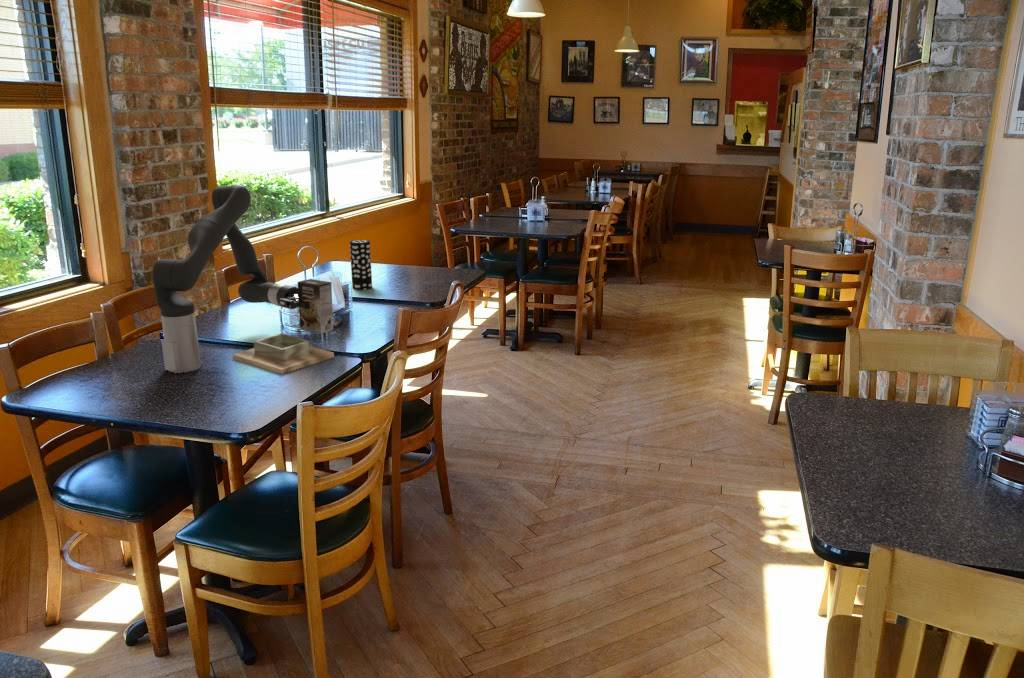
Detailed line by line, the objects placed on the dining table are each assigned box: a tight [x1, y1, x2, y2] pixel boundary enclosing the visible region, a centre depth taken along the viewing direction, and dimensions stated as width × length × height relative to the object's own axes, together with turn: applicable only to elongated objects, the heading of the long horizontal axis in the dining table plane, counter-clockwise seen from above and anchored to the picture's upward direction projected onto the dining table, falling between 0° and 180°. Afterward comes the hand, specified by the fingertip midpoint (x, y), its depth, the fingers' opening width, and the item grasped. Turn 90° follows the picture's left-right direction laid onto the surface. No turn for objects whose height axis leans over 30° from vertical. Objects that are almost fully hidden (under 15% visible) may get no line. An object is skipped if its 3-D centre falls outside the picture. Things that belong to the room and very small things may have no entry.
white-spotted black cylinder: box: [349, 239, 373, 291], centre depth 334 cm, size 8×8×20 cm
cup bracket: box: [232, 333, 335, 375], centre depth 247 cm, size 20×24×6 cm
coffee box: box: [297, 278, 334, 335], centre depth 256 cm, size 9×6×16 cm
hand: (317, 303), depth 255 cm, fingers closed on coffee box, 7 cm apart
